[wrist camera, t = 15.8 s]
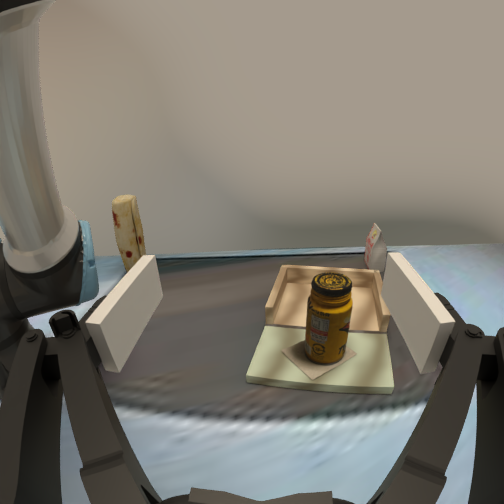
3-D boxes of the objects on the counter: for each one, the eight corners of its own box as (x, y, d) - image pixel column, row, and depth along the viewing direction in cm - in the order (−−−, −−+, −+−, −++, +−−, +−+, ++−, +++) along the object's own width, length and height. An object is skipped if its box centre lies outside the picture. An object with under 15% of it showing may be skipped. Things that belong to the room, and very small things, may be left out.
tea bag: (377, 260, 72) (381, 223, 68) (383, 271, 66) (388, 232, 62) (364, 260, 72) (367, 222, 69) (369, 271, 66) (373, 231, 63)
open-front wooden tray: (246, 382, 38) (244, 356, 36) (282, 285, 63) (282, 264, 61) (391, 394, 33) (400, 368, 31) (375, 291, 58) (379, 270, 56)
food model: (131, 263, 78) (118, 192, 70) (153, 262, 78) (141, 189, 70) (119, 279, 69) (103, 201, 61) (143, 278, 69) (128, 198, 61)
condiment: (356, 354, 39) (369, 282, 35) (312, 380, 36) (319, 305, 31) (324, 331, 45) (330, 262, 41) (281, 351, 42) (281, 279, 37)
